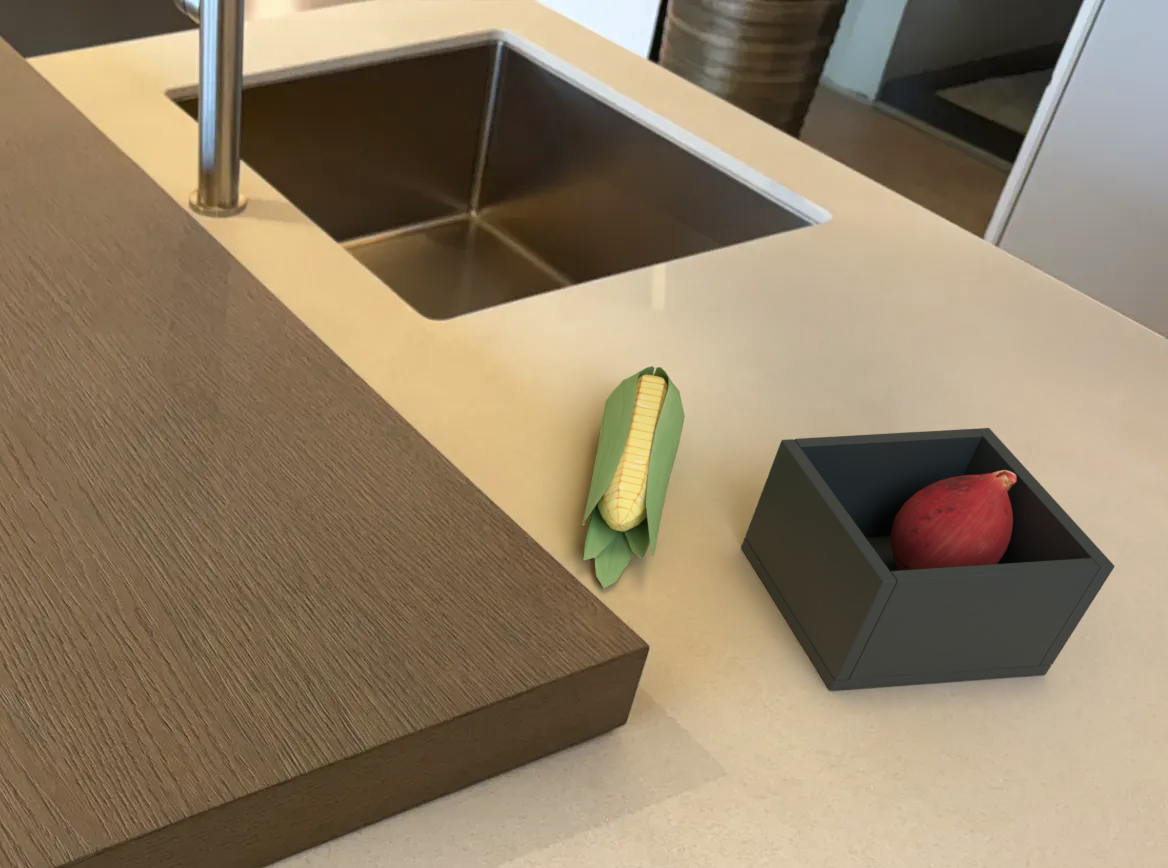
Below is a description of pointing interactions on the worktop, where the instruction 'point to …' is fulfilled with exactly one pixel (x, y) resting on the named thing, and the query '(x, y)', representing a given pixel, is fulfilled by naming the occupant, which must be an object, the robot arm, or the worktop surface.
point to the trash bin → (924, 596)
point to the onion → (955, 523)
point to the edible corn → (632, 470)
